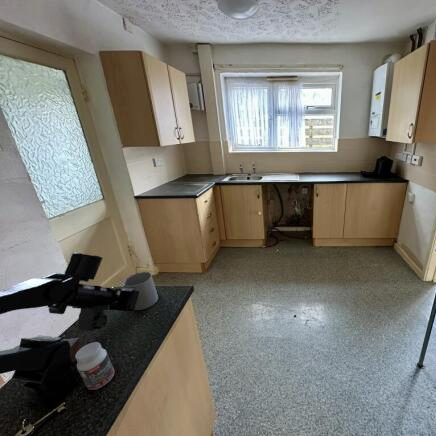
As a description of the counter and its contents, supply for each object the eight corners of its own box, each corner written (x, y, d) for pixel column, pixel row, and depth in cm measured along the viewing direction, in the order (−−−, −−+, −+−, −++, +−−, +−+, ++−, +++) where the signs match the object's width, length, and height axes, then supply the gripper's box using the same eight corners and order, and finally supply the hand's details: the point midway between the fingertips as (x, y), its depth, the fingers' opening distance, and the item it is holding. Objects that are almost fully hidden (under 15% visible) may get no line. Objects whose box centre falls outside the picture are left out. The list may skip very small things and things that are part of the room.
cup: (143, 312, 81) (135, 288, 77) (126, 307, 84) (117, 283, 80) (163, 296, 88) (156, 273, 85) (147, 292, 91) (139, 270, 87)
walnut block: (73, 363, 64) (66, 351, 62) (55, 365, 64) (49, 353, 62) (84, 348, 68) (79, 337, 67) (68, 350, 68) (62, 339, 66)
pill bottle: (97, 393, 56) (82, 364, 53) (81, 386, 58) (65, 358, 54) (120, 371, 61) (108, 343, 58) (105, 365, 63) (91, 337, 59)
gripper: (38, 326, 61) (91, 326, 75) (103, 331, 59) (145, 329, 73) (58, 282, 65) (104, 290, 80) (119, 285, 63) (155, 292, 77)
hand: (126, 301), depth 77 cm, fingers closed
